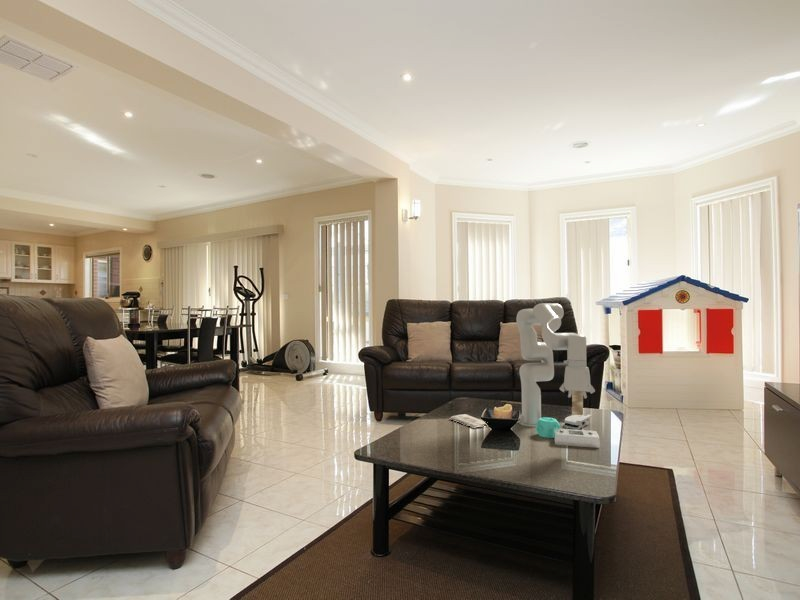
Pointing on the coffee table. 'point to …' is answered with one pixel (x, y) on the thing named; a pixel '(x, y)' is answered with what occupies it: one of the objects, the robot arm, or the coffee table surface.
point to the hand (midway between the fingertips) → (577, 406)
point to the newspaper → (468, 420)
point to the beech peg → (577, 402)
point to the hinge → (576, 421)
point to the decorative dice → (546, 427)
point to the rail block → (576, 438)
